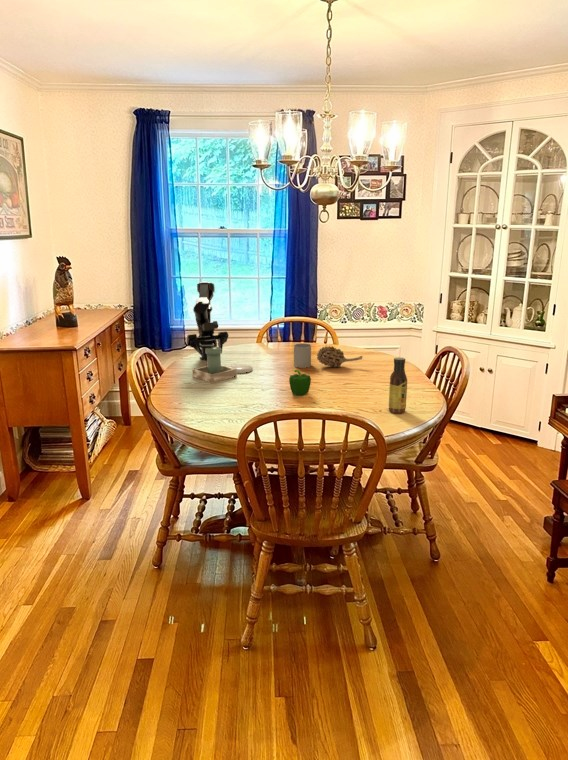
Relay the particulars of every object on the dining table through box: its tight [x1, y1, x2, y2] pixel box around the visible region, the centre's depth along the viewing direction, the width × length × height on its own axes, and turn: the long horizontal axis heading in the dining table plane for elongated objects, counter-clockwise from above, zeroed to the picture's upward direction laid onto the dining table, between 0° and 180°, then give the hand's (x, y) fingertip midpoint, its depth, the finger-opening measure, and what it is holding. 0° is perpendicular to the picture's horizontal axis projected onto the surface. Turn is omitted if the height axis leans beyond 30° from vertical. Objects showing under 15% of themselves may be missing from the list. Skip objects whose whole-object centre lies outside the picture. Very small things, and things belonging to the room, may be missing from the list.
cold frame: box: [191, 364, 238, 384], centre depth 252 cm, size 14×14×4 cm
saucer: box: [228, 364, 254, 374], centre depth 263 cm, size 12×12×1 cm
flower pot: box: [205, 346, 223, 374], centre depth 251 cm, size 7×7×13 cm
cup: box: [293, 343, 312, 369], centre depth 269 cm, size 8×8×10 cm
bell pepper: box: [288, 369, 312, 397], centre depth 225 cm, size 8×8×10 cm
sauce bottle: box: [388, 356, 408, 414], centre depth 203 cm, size 7×6×20 cm
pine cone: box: [316, 346, 363, 368], centre depth 265 cm, size 22×10×10 cm, turn 85°
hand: (211, 354), depth 252 cm, fingers open, 9 cm apart
